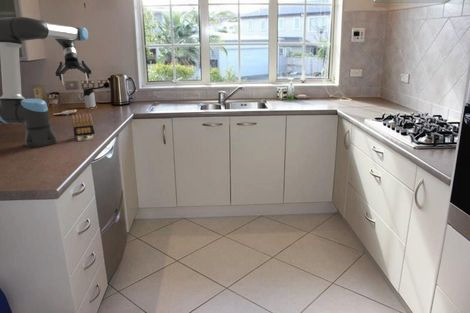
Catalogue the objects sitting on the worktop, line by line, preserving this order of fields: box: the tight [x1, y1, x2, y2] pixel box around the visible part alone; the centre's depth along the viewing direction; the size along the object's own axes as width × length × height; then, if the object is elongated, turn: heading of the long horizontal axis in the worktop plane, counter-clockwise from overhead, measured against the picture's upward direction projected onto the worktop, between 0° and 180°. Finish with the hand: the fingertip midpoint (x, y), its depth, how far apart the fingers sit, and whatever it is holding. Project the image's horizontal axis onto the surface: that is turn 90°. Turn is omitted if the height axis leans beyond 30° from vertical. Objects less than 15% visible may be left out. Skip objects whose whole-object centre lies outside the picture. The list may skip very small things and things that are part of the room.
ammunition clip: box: [71, 112, 95, 137], centre depth 214 cm, size 11×2×12 cm, turn 109°
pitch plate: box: [76, 134, 95, 142], centre depth 215 cm, size 8×17×2 cm, turn 24°
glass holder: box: [77, 88, 97, 108], centre depth 314 cm, size 9×14×15 cm, turn 77°
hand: (75, 83), depth 231 cm, fingers open, 13 cm apart
